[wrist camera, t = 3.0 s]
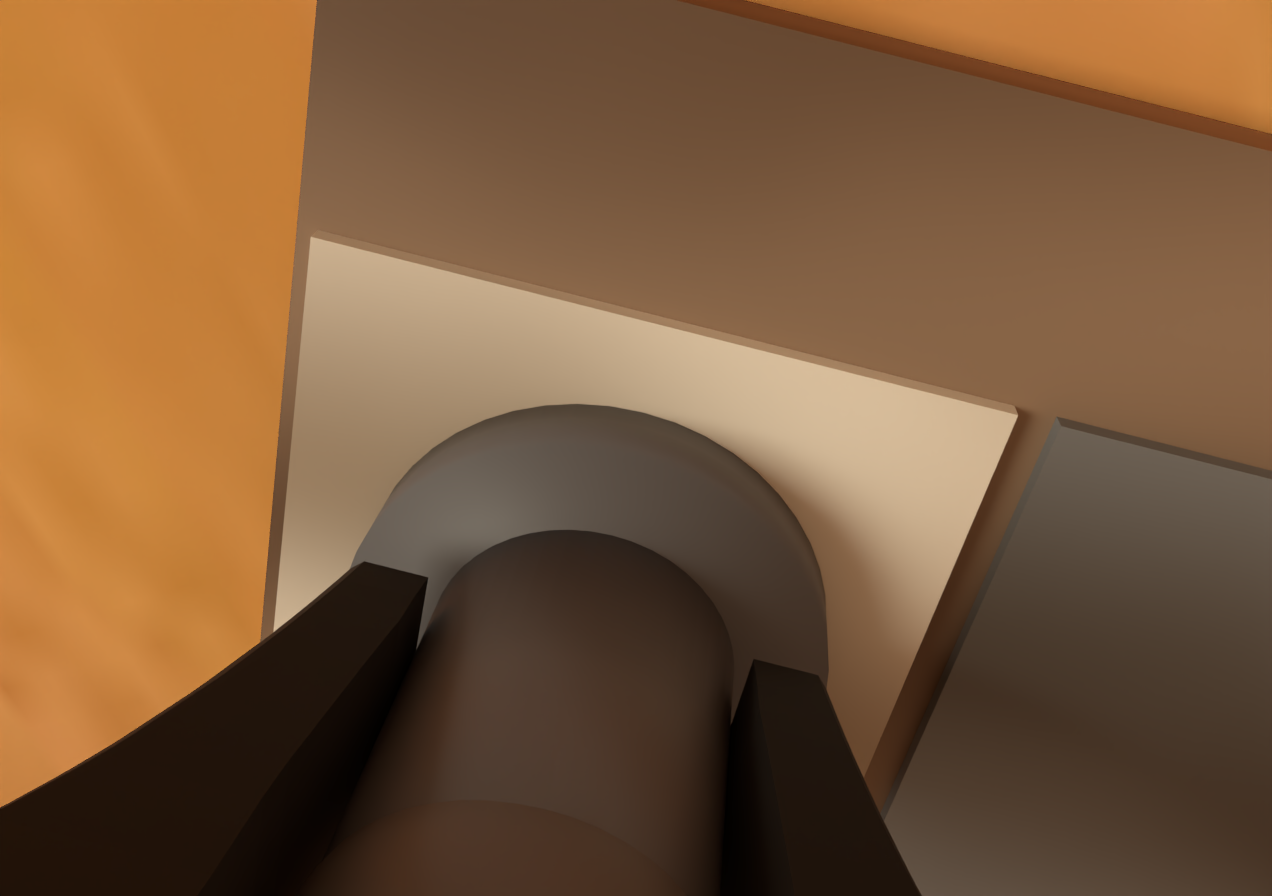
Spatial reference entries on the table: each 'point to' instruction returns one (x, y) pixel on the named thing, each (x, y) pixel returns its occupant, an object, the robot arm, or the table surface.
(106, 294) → the table surface
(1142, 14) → the table surface
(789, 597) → the pawn
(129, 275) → the table surface
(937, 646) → the board
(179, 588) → the table surface
